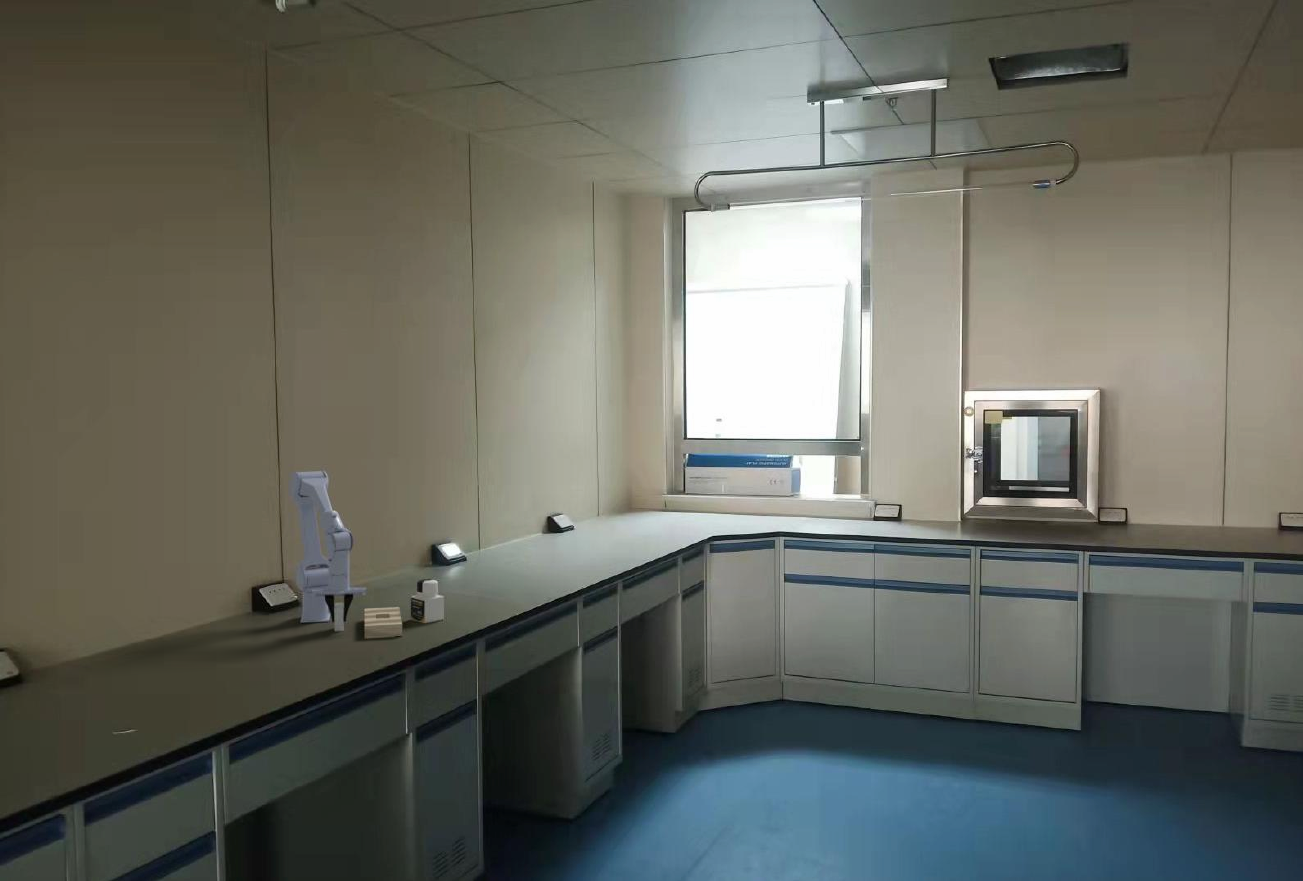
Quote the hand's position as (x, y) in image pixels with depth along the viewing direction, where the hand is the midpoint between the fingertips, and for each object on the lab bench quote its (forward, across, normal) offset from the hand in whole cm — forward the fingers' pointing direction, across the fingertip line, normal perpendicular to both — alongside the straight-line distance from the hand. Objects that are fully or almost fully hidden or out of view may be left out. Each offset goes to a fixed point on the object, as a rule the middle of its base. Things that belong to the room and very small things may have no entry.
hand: (339, 621), depth 286 cm
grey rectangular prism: (+2, 0, 0) cm, 2 cm away
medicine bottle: (+3, +25, +7) cm, 26 cm away
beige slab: (+2, +12, -1) cm, 12 cm away
